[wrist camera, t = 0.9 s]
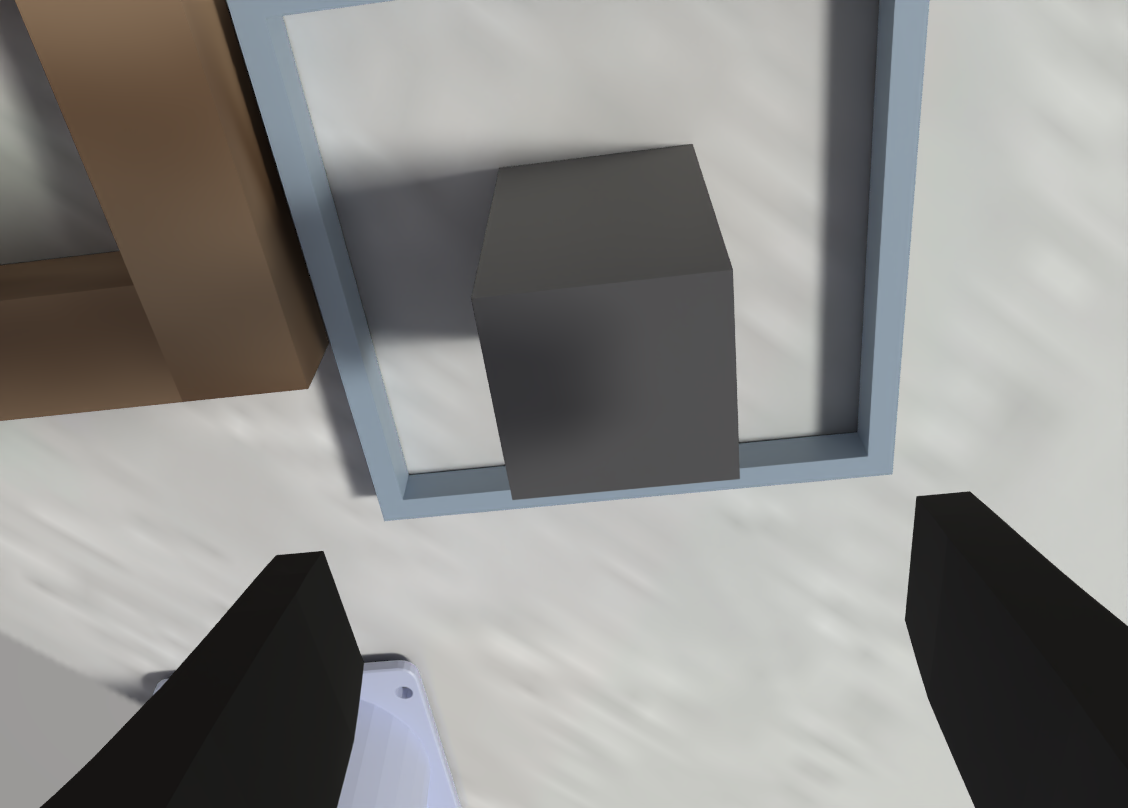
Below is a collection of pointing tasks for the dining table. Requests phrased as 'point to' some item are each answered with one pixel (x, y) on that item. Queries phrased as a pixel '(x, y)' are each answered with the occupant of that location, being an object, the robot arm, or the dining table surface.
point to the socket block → (159, 224)
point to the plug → (608, 325)
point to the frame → (405, 496)
